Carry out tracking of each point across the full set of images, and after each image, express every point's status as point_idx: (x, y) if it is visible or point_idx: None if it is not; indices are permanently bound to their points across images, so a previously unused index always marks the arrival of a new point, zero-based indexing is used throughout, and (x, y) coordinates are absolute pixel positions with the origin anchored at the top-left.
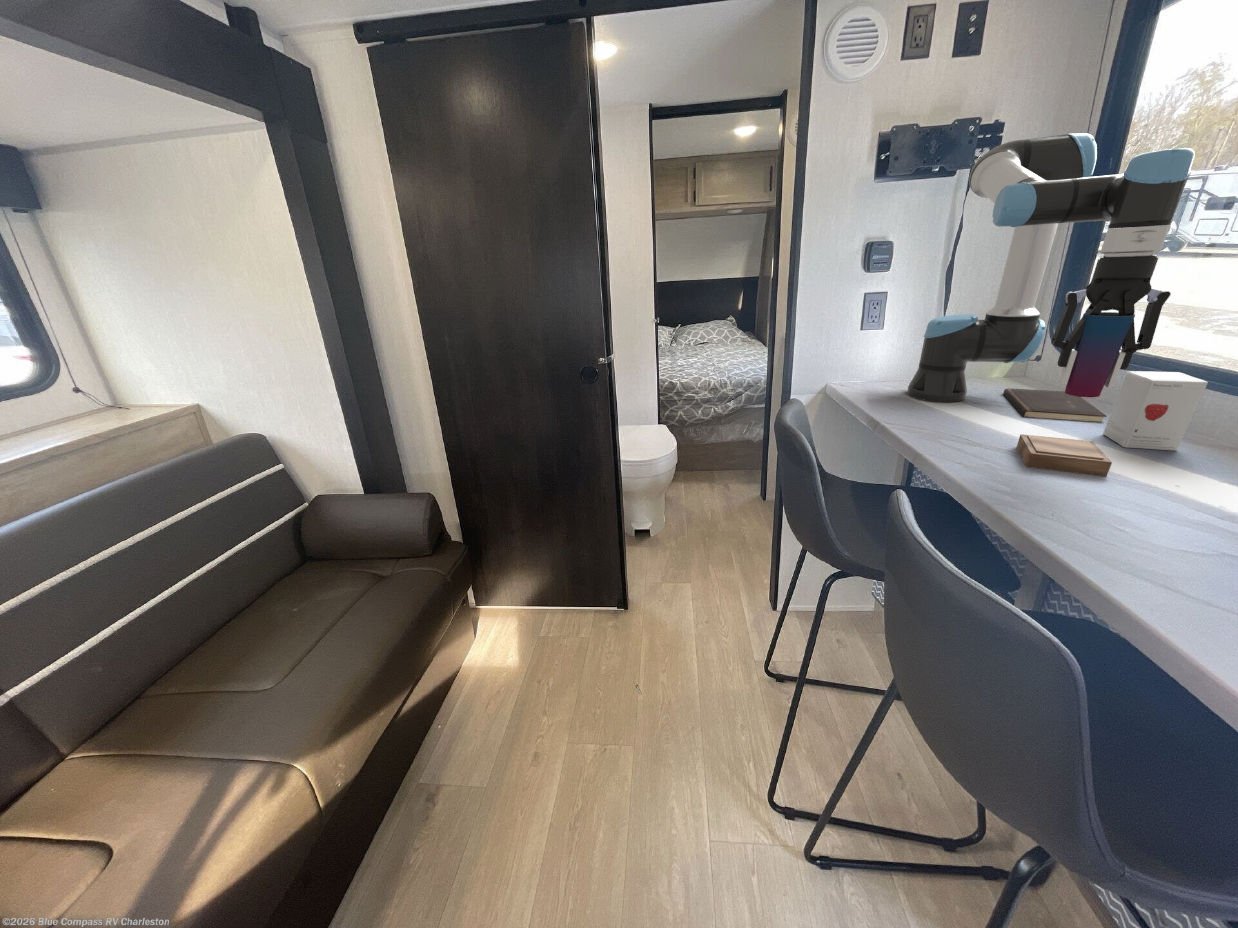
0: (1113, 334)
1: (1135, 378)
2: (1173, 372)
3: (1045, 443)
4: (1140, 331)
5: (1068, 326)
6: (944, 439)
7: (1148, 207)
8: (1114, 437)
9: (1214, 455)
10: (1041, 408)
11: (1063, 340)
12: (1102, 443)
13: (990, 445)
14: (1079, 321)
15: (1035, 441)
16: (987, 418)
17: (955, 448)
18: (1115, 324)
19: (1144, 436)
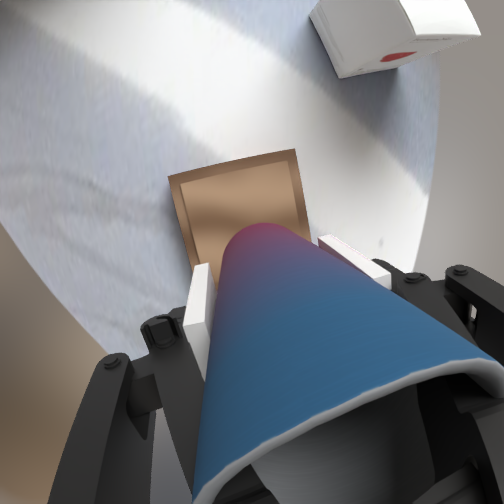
0: (353, 454)
1: None
2: None
3: (215, 227)
4: (486, 312)
5: (147, 488)
6: (61, 210)
7: None
8: (326, 46)
9: (429, 72)
10: None
11: (153, 425)
12: (309, 67)
13: (130, 195)
14: (180, 461)
15: (198, 223)
16: (114, 15)
17: (87, 252)
18: (363, 498)
19: (369, 70)
